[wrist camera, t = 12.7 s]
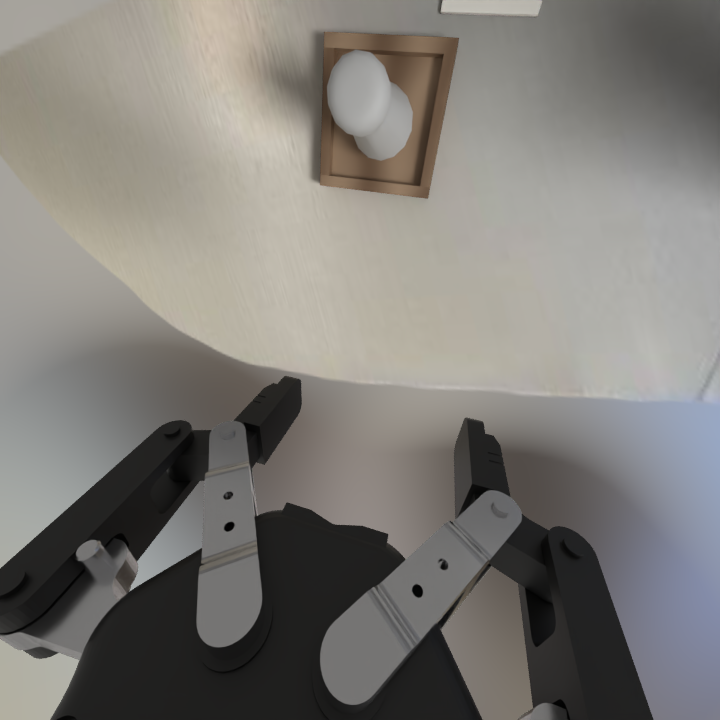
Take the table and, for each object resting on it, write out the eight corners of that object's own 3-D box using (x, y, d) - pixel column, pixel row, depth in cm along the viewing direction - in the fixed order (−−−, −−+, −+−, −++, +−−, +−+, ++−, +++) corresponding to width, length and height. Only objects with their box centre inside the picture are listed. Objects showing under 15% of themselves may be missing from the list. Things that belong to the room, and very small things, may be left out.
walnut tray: (457, 46, 26) (458, 37, 25) (427, 198, 32) (427, 198, 31) (330, 40, 28) (324, 31, 26) (325, 185, 34) (319, 185, 33)
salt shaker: (357, 92, 29) (308, 30, 18) (416, 87, 28) (402, 17, 17) (358, 163, 32) (316, 147, 21) (411, 161, 31) (396, 144, 20)
